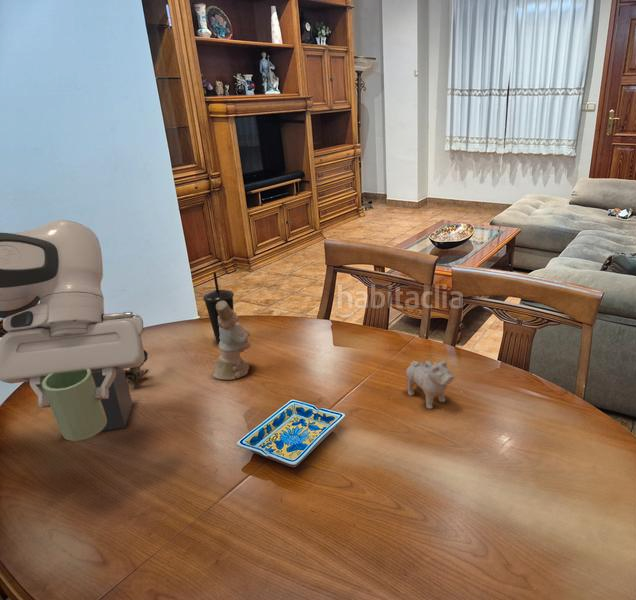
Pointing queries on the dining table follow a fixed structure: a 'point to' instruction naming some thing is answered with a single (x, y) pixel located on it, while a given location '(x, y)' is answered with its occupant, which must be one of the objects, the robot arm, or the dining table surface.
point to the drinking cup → (211, 302)
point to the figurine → (230, 344)
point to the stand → (115, 400)
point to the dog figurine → (429, 379)
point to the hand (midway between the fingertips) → (74, 403)
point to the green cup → (75, 404)
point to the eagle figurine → (136, 372)
